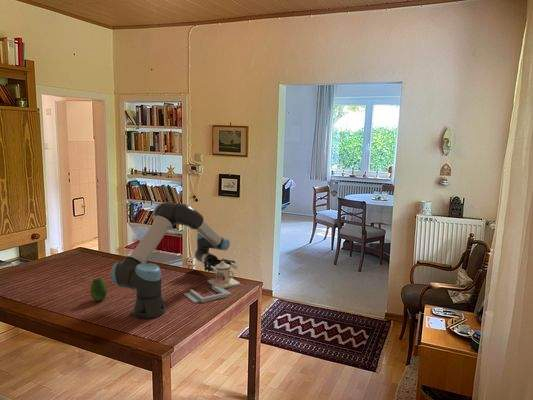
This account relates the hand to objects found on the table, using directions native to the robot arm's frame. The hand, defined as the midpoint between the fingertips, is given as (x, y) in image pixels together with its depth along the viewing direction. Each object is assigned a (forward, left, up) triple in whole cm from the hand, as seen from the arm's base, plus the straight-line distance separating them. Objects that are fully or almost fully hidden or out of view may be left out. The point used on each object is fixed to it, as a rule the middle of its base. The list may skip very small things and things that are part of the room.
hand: (226, 269), depth 233 cm
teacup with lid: (+1, +3, -9) cm, 9 cm away
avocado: (-67, +15, -10) cm, 69 cm away
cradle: (-16, -8, -9) cm, 20 cm away
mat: (0, +3, -9) cm, 10 cm away
